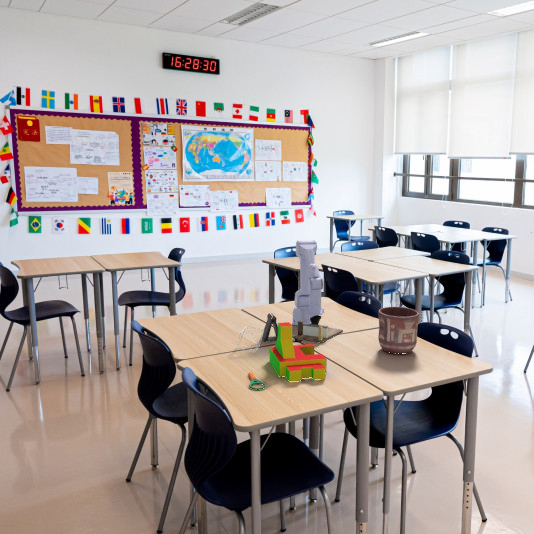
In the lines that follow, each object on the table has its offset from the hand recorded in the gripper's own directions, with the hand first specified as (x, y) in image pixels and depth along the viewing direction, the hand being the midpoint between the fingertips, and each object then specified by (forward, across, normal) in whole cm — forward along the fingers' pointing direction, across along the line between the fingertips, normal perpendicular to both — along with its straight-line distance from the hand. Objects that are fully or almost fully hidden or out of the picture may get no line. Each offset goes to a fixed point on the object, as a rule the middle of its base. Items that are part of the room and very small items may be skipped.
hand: (314, 330), depth 271 cm
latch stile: (+2, -5, -6) cm, 8 cm away
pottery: (+4, +4, -40) cm, 40 cm away
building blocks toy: (+4, -42, -16) cm, 45 cm away
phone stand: (+4, -14, +15) cm, 21 cm away
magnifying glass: (+4, -63, -10) cm, 64 cm away
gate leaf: (+2, -2, -1) cm, 3 cm away
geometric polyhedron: (+4, -31, +15) cm, 35 cm away
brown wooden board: (+3, +5, +1) cm, 6 cm away
